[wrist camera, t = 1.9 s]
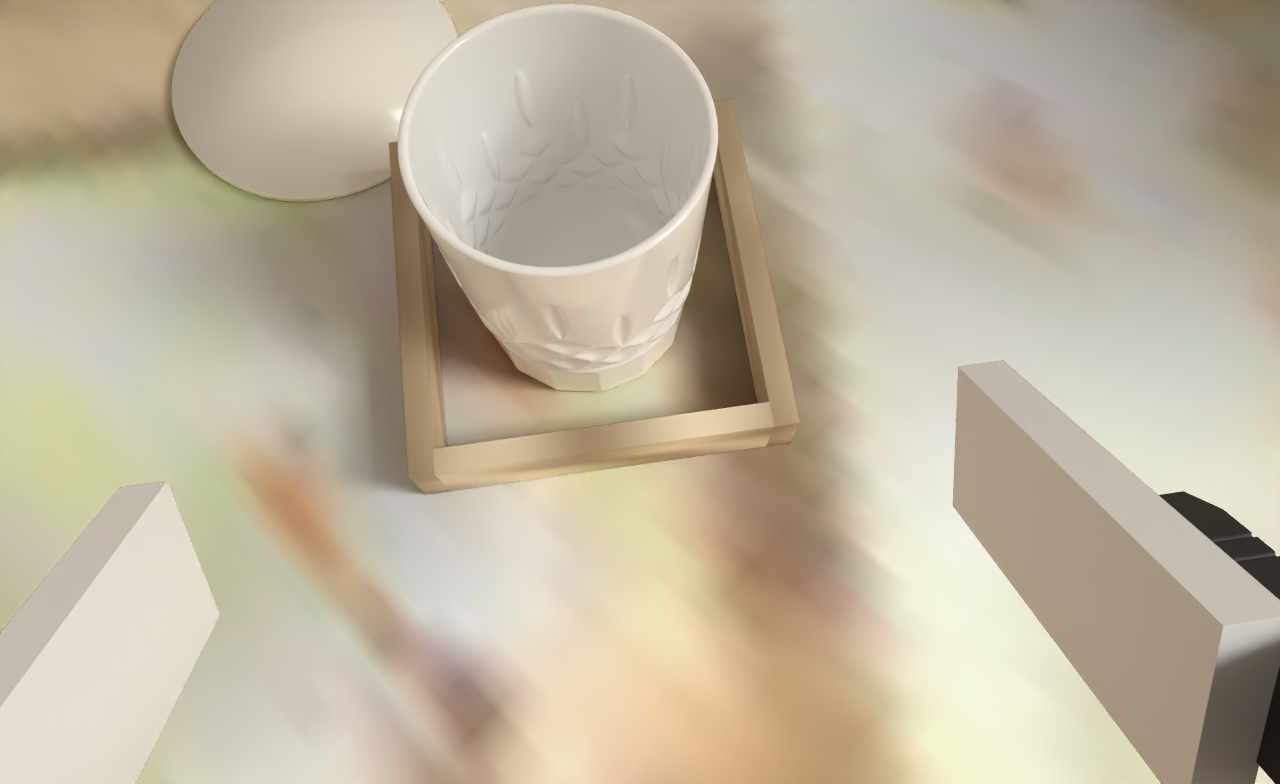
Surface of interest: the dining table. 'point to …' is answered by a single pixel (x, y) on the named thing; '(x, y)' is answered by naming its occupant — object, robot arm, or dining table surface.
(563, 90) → the white cup
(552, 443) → the frame
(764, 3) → the dining table surface
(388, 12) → the coaster
